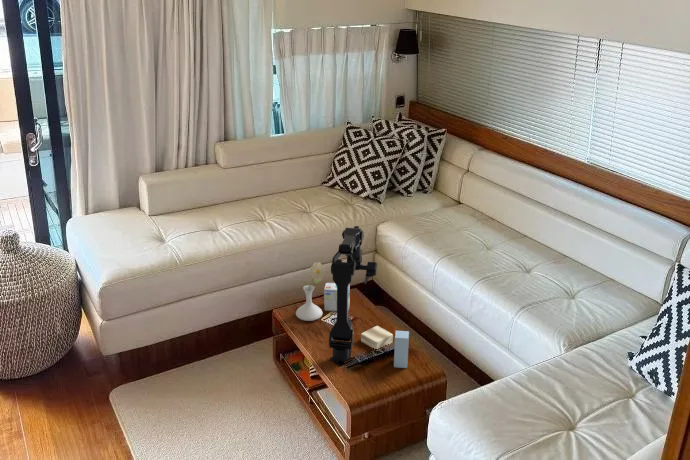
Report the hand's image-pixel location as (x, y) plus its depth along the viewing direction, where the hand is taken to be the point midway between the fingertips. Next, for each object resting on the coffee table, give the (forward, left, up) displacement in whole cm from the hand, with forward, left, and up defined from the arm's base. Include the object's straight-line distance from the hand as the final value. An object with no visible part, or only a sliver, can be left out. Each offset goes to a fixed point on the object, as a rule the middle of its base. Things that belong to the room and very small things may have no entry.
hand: (354, 282), depth 285 cm
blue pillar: (-12, -39, -16) cm, 43 cm away
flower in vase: (-15, +11, -16) cm, 24 cm away
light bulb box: (-2, +9, -16) cm, 18 cm away
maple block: (-8, -22, -16) cm, 28 cm away
